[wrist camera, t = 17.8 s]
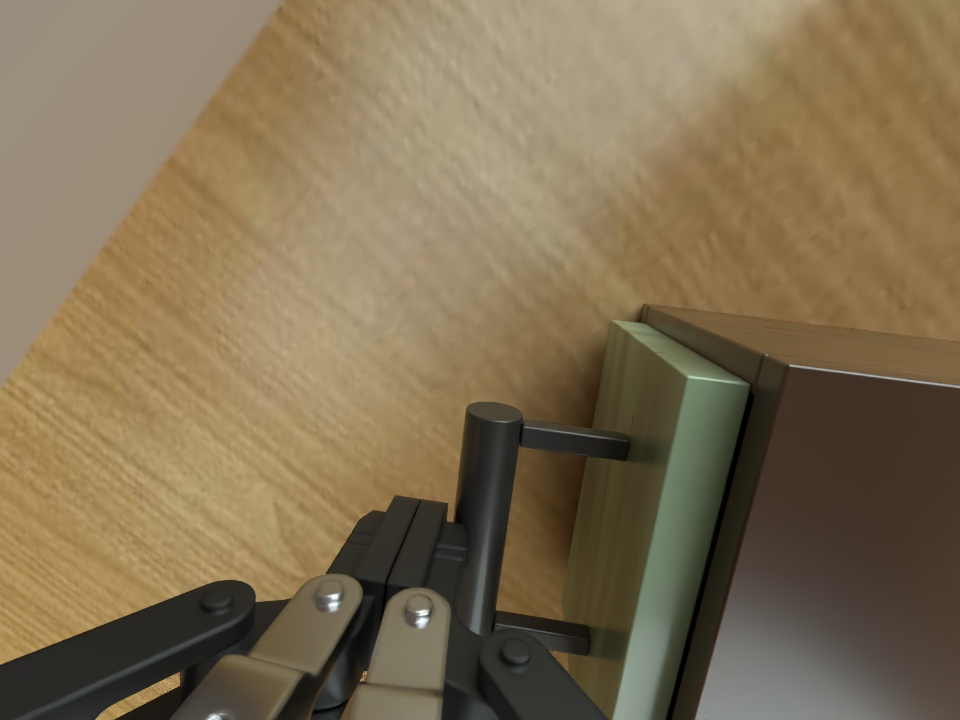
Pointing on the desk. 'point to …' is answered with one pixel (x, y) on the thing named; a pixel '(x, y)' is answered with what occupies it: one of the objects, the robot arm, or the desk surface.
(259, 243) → the desk surface
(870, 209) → the desk surface
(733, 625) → the cabinet
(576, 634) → the drawer
